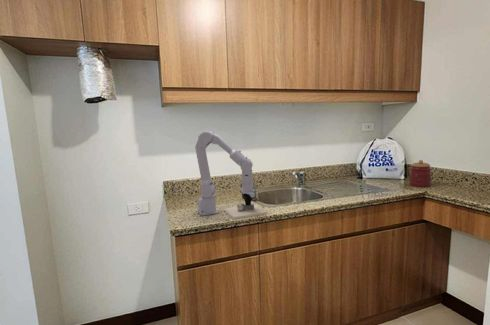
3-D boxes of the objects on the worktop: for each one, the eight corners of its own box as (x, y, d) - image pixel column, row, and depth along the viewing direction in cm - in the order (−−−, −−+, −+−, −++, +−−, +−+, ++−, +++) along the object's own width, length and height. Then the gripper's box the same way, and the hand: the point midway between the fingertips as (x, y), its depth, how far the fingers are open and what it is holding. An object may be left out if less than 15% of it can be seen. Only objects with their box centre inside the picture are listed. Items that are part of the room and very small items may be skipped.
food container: (261, 199, 169) (261, 184, 168) (254, 202, 165) (254, 185, 164) (247, 196, 178) (246, 181, 177) (240, 198, 174) (240, 183, 172)
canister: (431, 188, 181) (432, 161, 178) (408, 186, 187) (409, 161, 185) (430, 184, 192) (431, 159, 189) (409, 182, 198) (410, 158, 196)
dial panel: (233, 219, 135) (233, 217, 135) (224, 210, 150) (224, 208, 150) (266, 214, 141) (266, 211, 141) (254, 206, 156) (254, 204, 156)
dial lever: (237, 211, 143) (237, 205, 142) (237, 209, 146) (237, 203, 146) (254, 210, 143) (254, 204, 142) (253, 208, 146) (253, 202, 146)
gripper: (260, 184, 138) (260, 209, 140) (249, 179, 152) (250, 202, 154) (247, 185, 136) (248, 211, 138) (237, 180, 149) (238, 204, 151)
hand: (248, 207), depth 146 cm, fingers closed, pressing on dial lever
